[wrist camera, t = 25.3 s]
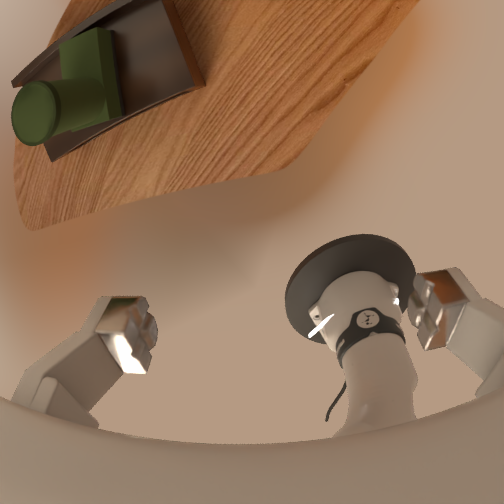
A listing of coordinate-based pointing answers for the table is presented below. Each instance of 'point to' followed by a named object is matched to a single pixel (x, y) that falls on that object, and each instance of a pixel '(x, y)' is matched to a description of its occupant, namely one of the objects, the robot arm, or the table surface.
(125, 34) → the shoe bench
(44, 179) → the table surface
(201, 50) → the table surface
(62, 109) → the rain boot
